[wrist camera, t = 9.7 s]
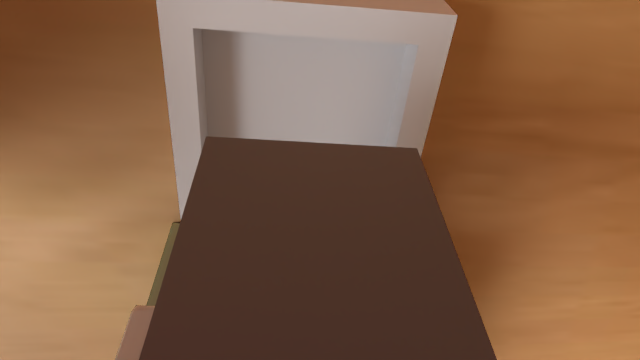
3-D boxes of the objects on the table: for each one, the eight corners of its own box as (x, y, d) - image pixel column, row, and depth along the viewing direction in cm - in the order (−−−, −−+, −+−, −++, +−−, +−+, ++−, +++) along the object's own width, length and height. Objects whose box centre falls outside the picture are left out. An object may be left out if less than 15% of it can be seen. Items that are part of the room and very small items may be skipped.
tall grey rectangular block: (417, 147, 11) (506, 384, 6) (367, 345, 16) (396, 566, 11) (206, 135, 11) (133, 379, 6) (219, 342, 16) (183, 570, 11)
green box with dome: (363, 388, 31) (386, 582, 23) (193, 386, 30) (156, 589, 22) (467, -3, 16) (636, 157, 8) (140, -31, 15) (-32, 120, 7)
